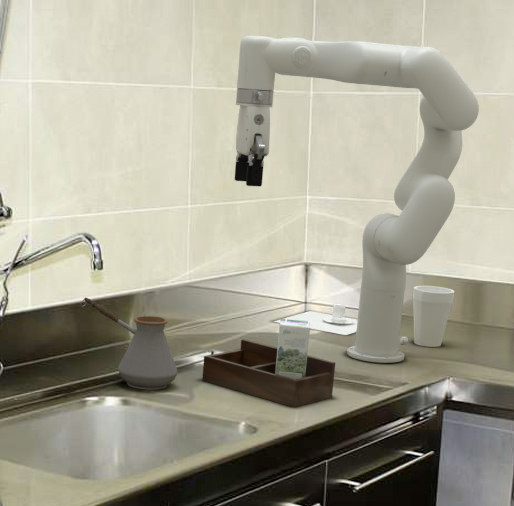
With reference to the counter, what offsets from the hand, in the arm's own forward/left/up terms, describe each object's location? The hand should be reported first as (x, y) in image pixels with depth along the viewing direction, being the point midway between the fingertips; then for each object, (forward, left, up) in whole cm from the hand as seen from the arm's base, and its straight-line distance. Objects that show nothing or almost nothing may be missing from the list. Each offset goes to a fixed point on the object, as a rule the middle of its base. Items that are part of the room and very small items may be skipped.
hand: (247, 183), depth 254 cm
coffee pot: (+34, +2, -37) cm, 51 cm away
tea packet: (+16, +27, -37) cm, 49 cm away
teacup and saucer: (-49, -11, -37) cm, 62 cm away
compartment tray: (+16, +22, -37) cm, 46 cm away
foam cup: (-50, +17, -37) cm, 65 cm away
